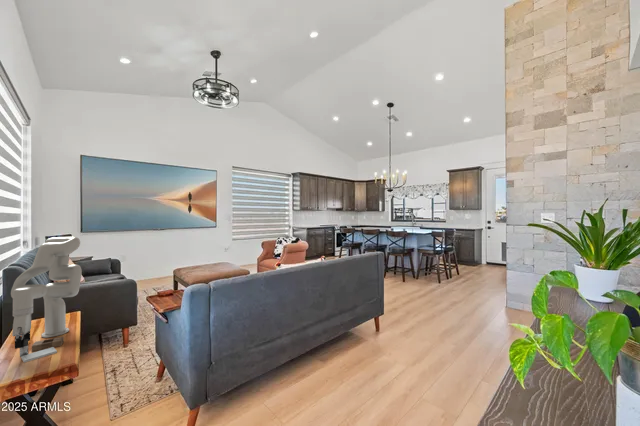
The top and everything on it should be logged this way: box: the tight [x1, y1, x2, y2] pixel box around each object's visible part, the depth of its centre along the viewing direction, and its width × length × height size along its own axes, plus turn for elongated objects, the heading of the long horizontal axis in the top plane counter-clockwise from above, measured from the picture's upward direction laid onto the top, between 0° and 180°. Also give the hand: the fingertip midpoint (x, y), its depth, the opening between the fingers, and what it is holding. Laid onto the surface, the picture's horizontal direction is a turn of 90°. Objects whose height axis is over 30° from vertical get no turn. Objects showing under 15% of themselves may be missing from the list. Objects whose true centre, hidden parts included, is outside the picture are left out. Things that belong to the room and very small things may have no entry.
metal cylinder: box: [19, 339, 29, 358], centre depth 150 cm, size 3×3×8 cm
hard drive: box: [20, 347, 58, 363], centre depth 150 cm, size 2×8×12 cm
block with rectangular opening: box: [31, 336, 65, 352], centre depth 160 cm, size 6×12×3 cm, turn 122°
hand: (22, 344), depth 149 cm, fingers open, 9 cm apart
